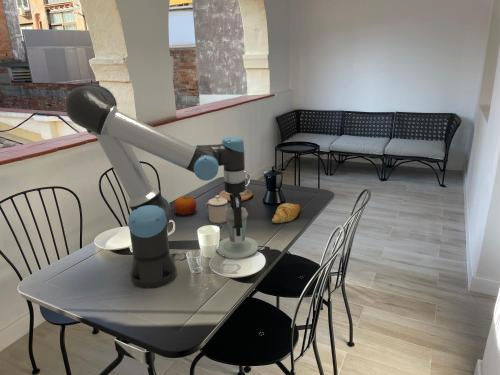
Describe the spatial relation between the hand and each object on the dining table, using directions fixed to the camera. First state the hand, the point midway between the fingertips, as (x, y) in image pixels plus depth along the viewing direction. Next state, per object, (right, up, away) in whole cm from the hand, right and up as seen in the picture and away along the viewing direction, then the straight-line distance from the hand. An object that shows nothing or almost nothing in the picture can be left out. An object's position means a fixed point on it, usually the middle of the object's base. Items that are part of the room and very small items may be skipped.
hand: (237, 237), depth 139 cm
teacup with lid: (-11, +4, +30) cm, 32 cm away
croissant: (+22, +5, +30) cm, 38 cm away
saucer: (0, -5, +2) cm, 5 cm away
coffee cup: (0, -1, 0) cm, 1 cm away
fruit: (-26, +6, +37) cm, 46 cm away
